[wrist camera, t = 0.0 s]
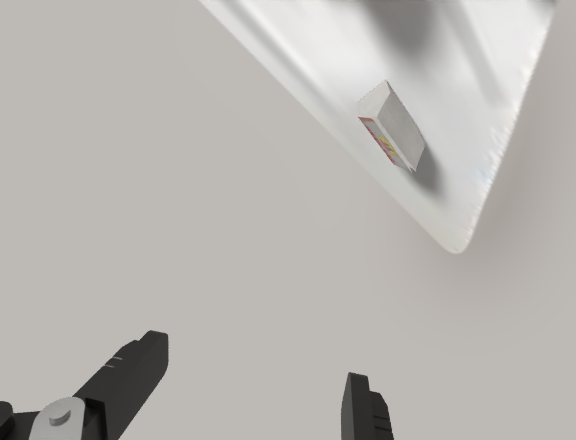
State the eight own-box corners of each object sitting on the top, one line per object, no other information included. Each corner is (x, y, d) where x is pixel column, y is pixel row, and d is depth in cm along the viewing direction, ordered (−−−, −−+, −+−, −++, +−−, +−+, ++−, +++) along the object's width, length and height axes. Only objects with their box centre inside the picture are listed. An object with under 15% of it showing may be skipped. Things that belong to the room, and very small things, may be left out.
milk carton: (385, 79, 33) (394, 105, 25) (416, 125, 35) (433, 162, 28) (358, 101, 35) (358, 131, 27) (389, 143, 37) (397, 182, 30)
